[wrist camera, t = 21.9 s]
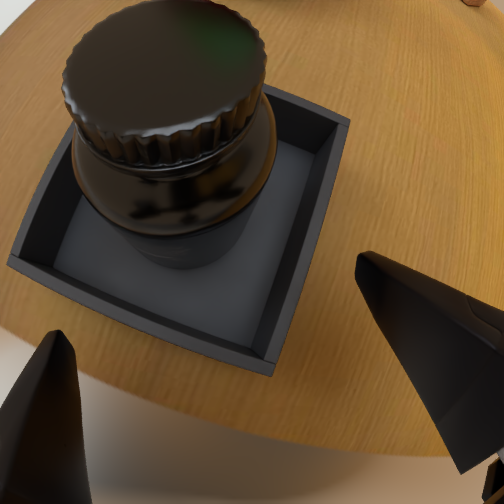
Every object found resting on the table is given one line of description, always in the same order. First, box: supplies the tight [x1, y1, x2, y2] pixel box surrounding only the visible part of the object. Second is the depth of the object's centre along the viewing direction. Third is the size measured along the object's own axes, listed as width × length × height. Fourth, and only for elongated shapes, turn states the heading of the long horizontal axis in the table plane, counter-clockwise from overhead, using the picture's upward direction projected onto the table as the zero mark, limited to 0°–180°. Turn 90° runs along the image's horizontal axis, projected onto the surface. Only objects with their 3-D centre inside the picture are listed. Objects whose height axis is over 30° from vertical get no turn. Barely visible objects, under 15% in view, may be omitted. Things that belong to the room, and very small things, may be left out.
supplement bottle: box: [61, 0, 278, 270], centre depth 12 cm, size 7×7×12 cm
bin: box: [6, 83, 350, 377], centre depth 16 cm, size 13×13×4 cm
